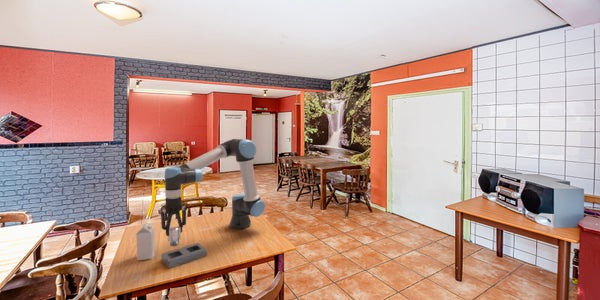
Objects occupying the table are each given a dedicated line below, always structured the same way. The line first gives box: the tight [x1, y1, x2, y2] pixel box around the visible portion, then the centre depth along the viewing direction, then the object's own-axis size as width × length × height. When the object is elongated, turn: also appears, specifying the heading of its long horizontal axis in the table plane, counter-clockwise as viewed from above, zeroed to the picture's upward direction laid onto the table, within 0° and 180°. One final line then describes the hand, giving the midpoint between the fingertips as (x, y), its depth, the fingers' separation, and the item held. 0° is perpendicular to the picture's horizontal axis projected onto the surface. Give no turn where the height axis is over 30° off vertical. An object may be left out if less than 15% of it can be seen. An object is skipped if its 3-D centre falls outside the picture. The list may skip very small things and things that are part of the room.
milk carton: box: [135, 221, 156, 261], centre depth 145 cm, size 7×7×19 cm
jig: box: [161, 242, 208, 269], centre depth 146 cm, size 20×12×4 cm, turn 134°
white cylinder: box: [169, 226, 180, 247], centre depth 141 cm, size 4×4×9 cm
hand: (174, 239), depth 141 cm, fingers closed on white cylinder, 4 cm apart
